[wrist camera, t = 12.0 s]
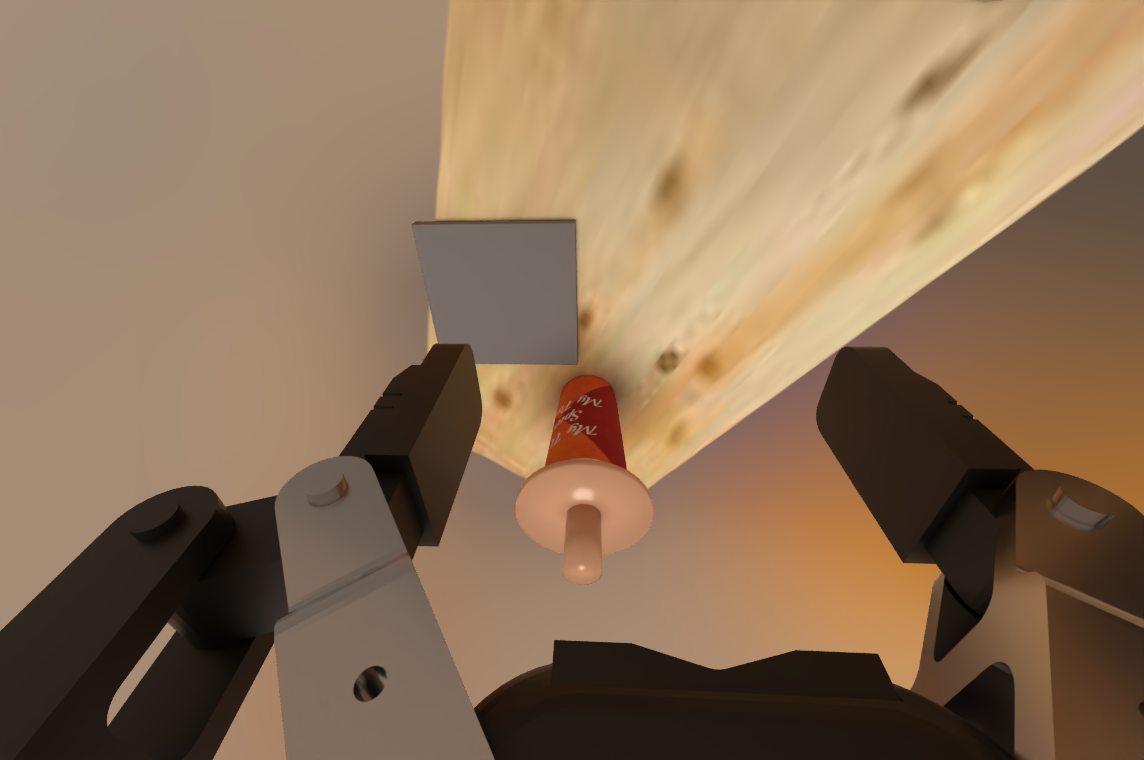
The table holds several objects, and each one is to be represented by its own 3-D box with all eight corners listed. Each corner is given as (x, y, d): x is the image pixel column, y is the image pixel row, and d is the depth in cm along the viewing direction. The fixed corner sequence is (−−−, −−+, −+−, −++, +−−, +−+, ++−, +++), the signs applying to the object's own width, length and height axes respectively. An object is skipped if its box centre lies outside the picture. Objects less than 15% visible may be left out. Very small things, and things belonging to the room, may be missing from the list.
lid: (657, 459, 32) (668, 525, 27) (647, 549, 38) (654, 616, 33) (509, 457, 33) (494, 522, 28) (523, 546, 39) (513, 612, 34)
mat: (575, 220, 37) (574, 223, 36) (577, 359, 45) (577, 364, 44) (415, 221, 38) (411, 224, 37) (445, 358, 46) (442, 363, 45)
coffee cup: (583, 352, 44) (577, 455, 32) (641, 394, 47) (656, 505, 35) (535, 401, 48) (513, 510, 36) (591, 438, 51) (589, 551, 39)
